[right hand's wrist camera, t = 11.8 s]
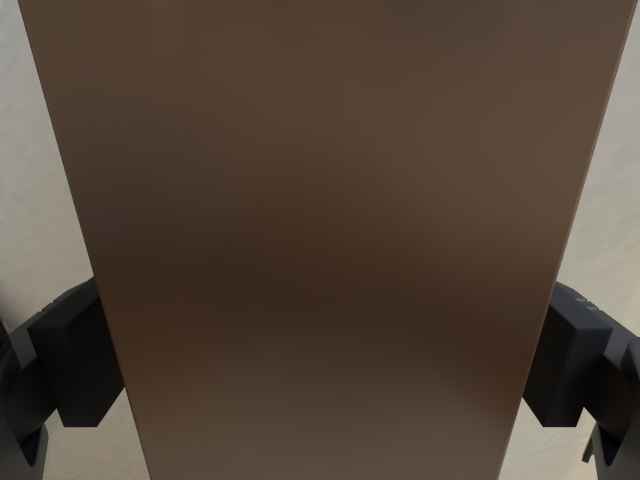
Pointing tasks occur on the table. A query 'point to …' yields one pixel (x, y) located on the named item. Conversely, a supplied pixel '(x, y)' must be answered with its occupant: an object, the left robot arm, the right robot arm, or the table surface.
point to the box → (326, 217)
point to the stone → (8, 328)
